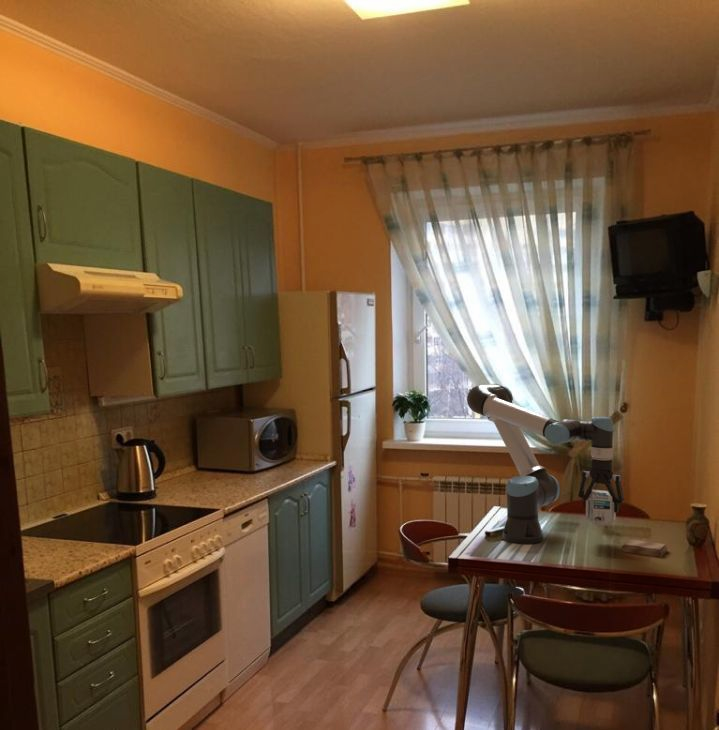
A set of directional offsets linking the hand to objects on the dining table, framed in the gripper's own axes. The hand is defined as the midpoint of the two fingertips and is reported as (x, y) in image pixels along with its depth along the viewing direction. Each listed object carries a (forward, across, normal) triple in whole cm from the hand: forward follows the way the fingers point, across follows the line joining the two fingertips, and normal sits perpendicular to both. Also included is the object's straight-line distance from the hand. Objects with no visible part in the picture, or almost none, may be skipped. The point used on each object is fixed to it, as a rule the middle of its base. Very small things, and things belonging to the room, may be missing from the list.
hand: (600, 518), depth 246 cm
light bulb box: (+1, 0, 0) cm, 1 cm away
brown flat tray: (+9, +16, -1) cm, 18 cm away
